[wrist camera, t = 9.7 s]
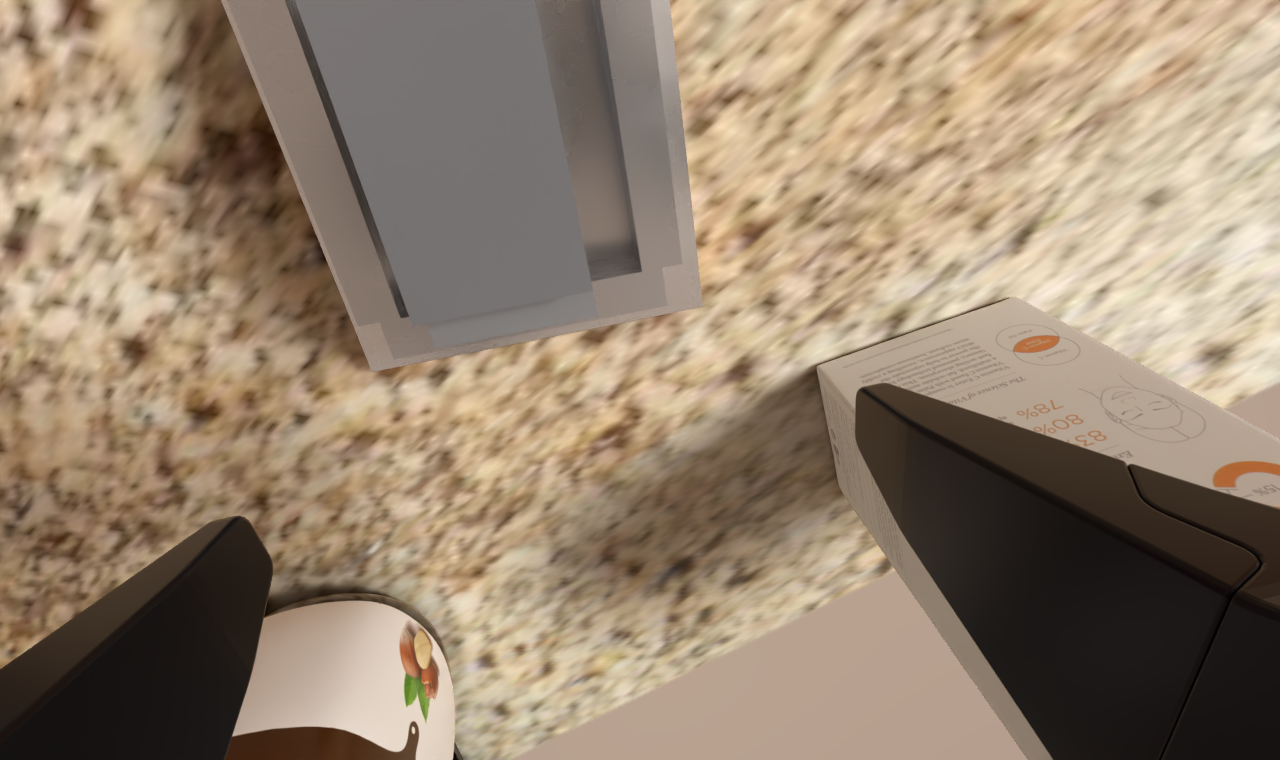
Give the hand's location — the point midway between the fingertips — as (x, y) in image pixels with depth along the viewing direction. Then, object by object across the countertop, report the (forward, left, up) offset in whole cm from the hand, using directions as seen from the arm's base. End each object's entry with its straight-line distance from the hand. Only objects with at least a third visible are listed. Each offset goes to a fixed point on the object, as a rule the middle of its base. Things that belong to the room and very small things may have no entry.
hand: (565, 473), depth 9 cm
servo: (-1, +4, -12) cm, 12 cm away
